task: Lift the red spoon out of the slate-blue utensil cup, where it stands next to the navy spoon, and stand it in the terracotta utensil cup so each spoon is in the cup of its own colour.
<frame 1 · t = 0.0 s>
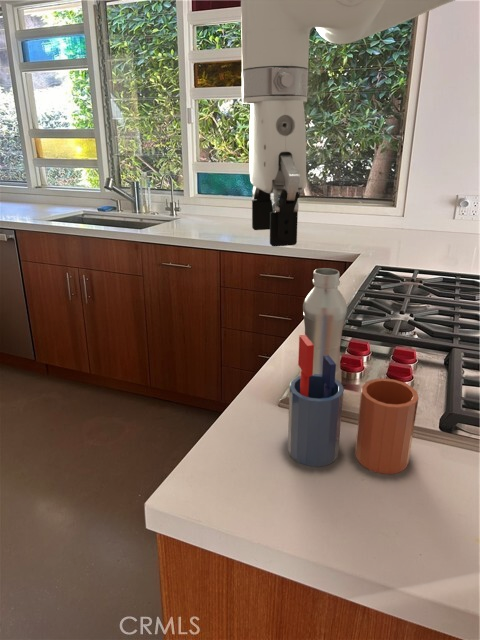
hand: (272, 236, 60), 26 cm above the countertop, tool pointing down, fingers open, 9 cm apart
blue cup: (312, 453, 60), on the countertop
red spoon: (301, 451, 59), point 1 cm above the countertop, touching blue cup
navy spoon: (323, 448, 60), point 1 cm above the countertop, touching blue cup
silver bottle: (319, 393, 74), on the countertop
terracotta cup: (380, 460, 59), on the countertop
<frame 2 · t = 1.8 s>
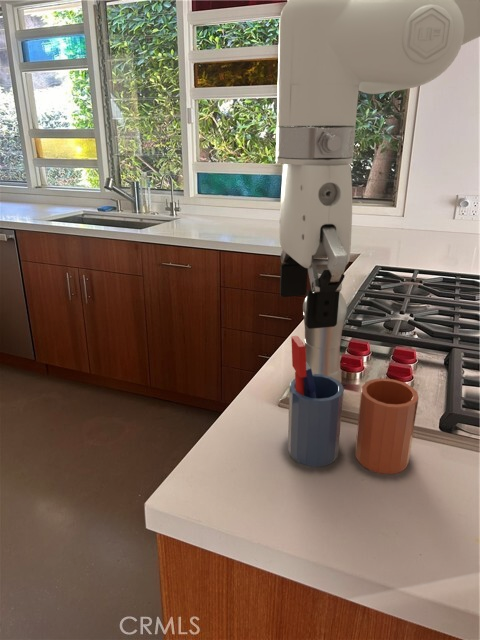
hand: (305, 309, 52), 20 cm above the countertop, tool pointing down, fingers open, 9 cm apart
red spoon: (301, 451, 59), point 1 cm above the countertop, touching blue cup, navy spoon
navy spoon: (323, 448, 60), point 1 cm above the countertop, tilted 14°, touching blue cup, red spoon
everything else where it was.
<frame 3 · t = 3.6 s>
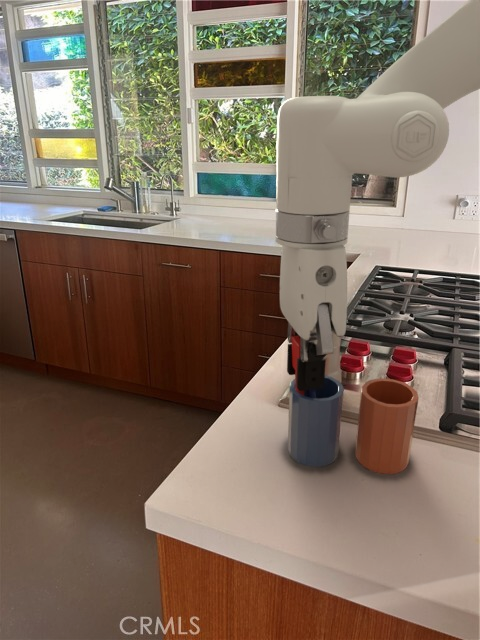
hand: (304, 379, 55), 11 cm above the countertop, tool pointing down, fingers closed on red spoon, 3 cm apart
red spoon: (301, 451, 59), point 1 cm above the countertop, touching blue cup, gripper, navy spoon
everything else where it was.
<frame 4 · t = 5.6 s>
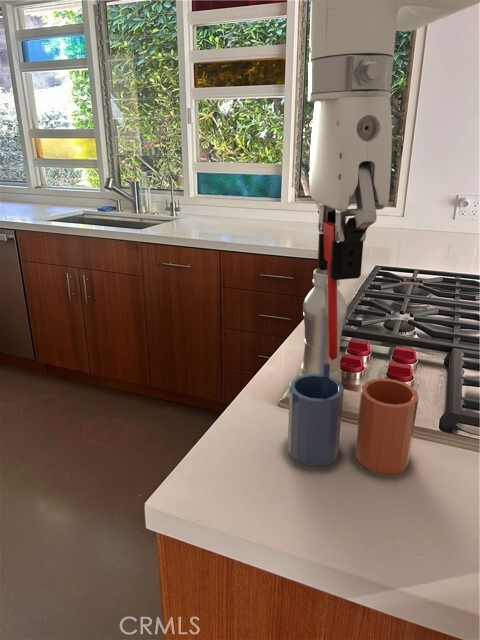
hand: (338, 271, 50), 25 cm above the countertop, tool pointing down, fingers closed on red spoon, 3 cm apart
red spoon: (333, 359, 54), point 14 cm above the countertop, touching gripper
navy spoon: (321, 446, 60), point 1 cm above the countertop, tilted 11°, touching blue cup
everything else where it was.
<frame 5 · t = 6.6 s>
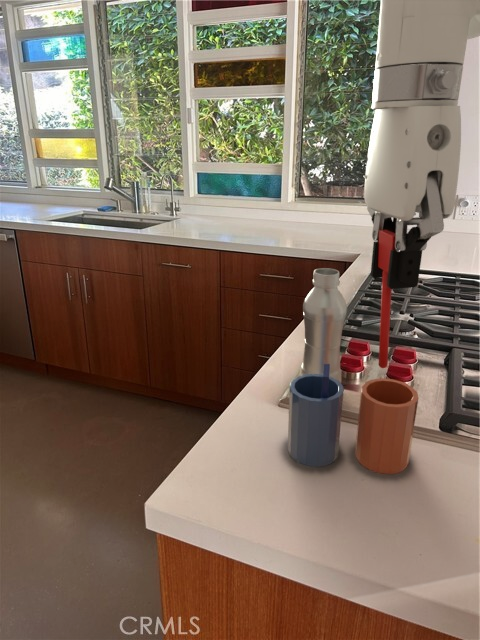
hand: (393, 280, 50), 24 cm above the countertop, tool pointing down, fingers closed on red spoon, 3 cm apart
red spoon: (382, 367, 54), point 13 cm above the countertop, touching gripper
everything else where it was.
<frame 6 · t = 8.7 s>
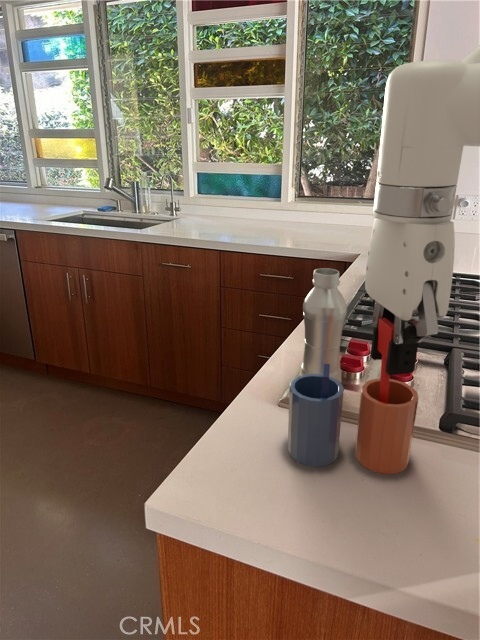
hand: (391, 363, 53), 14 cm above the countertop, tool pointing down, fingers closed on red spoon, 3 cm apart
red spoon: (381, 439, 57), point 3 cm above the countertop, touching gripper
everything else where it was.
when the fingers open (11 cm above the countertop, at t = 9.8 s): red spoon stays where it is, resting on terracotta cup.
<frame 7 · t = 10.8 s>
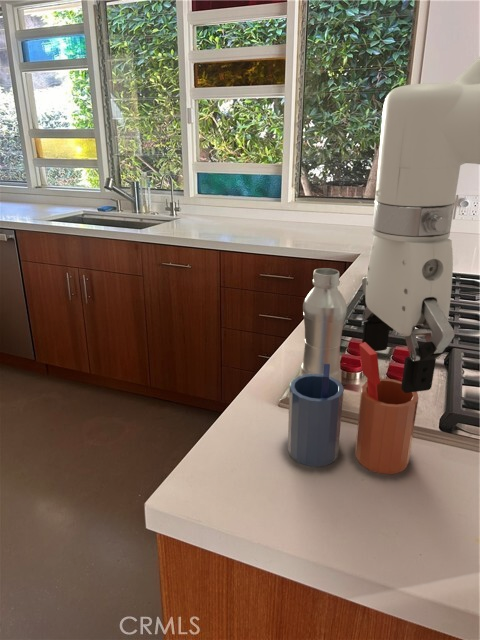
hand: (393, 368, 54), 13 cm above the countertop, tool pointing down, fingers open, 9 cm apart
red spoon: (380, 456, 58), point 1 cm above the countertop, tilted 12°, touching terracotta cup
everything else where it was.
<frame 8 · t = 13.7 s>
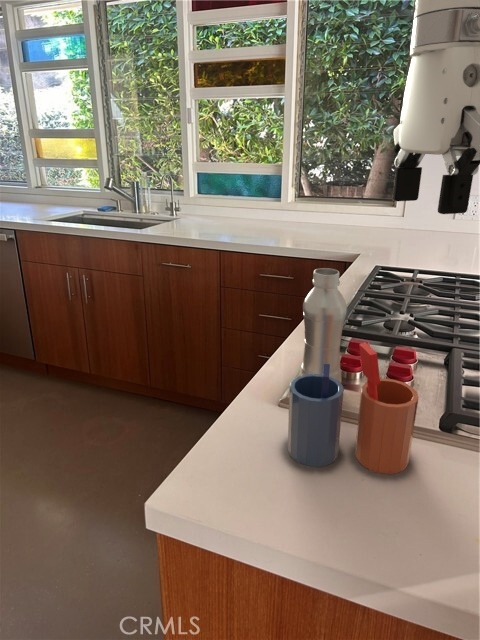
hand: (426, 206, 54), 30 cm above the countertop, tool pointing down, fingers open, 9 cm apart
nothing on the countertop moved.
at the end: red spoon 0.2 cm off-centre in the terracotta cup, point 0.6 cm above the terracotta cup's base; navy spoon 1.3 cm off-centre in the blue cup, point 0.6 cm above the blue cup's base; the gripper is holding nothing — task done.
